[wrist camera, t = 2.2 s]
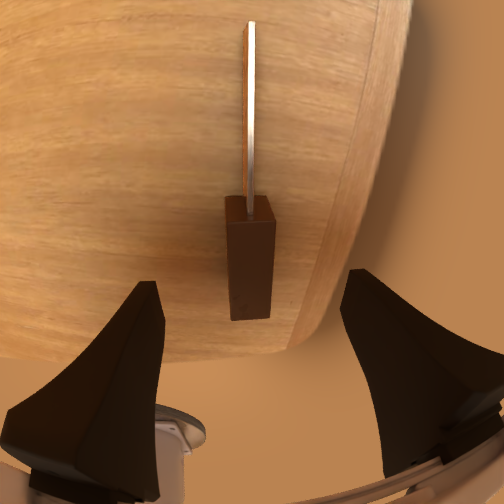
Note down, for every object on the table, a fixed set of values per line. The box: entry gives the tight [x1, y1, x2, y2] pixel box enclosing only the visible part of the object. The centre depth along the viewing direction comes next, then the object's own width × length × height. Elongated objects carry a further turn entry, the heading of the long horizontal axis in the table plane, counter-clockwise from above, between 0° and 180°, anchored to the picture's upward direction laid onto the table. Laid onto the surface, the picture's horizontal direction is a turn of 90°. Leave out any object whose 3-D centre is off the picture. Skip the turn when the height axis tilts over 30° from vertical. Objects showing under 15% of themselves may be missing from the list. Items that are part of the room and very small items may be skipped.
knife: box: [225, 21, 276, 321], centre depth 11 cm, size 12×2×2 cm, turn 179°
